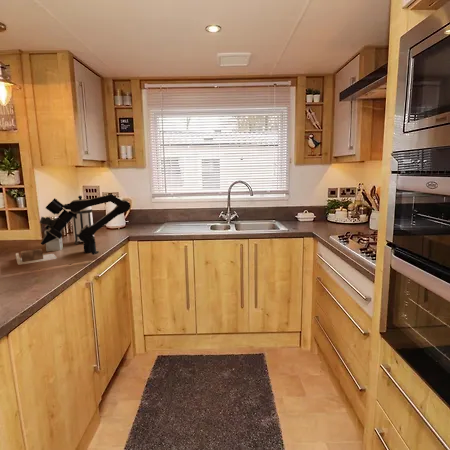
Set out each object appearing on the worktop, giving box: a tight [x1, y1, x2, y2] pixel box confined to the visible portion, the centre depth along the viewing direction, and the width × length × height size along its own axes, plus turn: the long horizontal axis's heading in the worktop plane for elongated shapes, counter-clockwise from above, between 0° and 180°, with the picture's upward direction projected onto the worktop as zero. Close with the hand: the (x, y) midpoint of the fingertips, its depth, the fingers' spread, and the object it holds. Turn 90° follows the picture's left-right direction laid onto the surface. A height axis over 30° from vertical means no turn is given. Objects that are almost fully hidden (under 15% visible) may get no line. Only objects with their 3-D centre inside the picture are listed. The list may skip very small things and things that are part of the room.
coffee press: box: [70, 195, 95, 245], centre depth 203 cm, size 17×16×30 cm
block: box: [20, 248, 44, 262], centre depth 162 cm, size 4×4×9 cm
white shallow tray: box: [15, 252, 58, 265], centre depth 164 cm, size 17×13×4 cm
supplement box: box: [44, 230, 64, 252], centre depth 183 cm, size 7×7×13 cm
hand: (41, 244), depth 164 cm, fingers closed
